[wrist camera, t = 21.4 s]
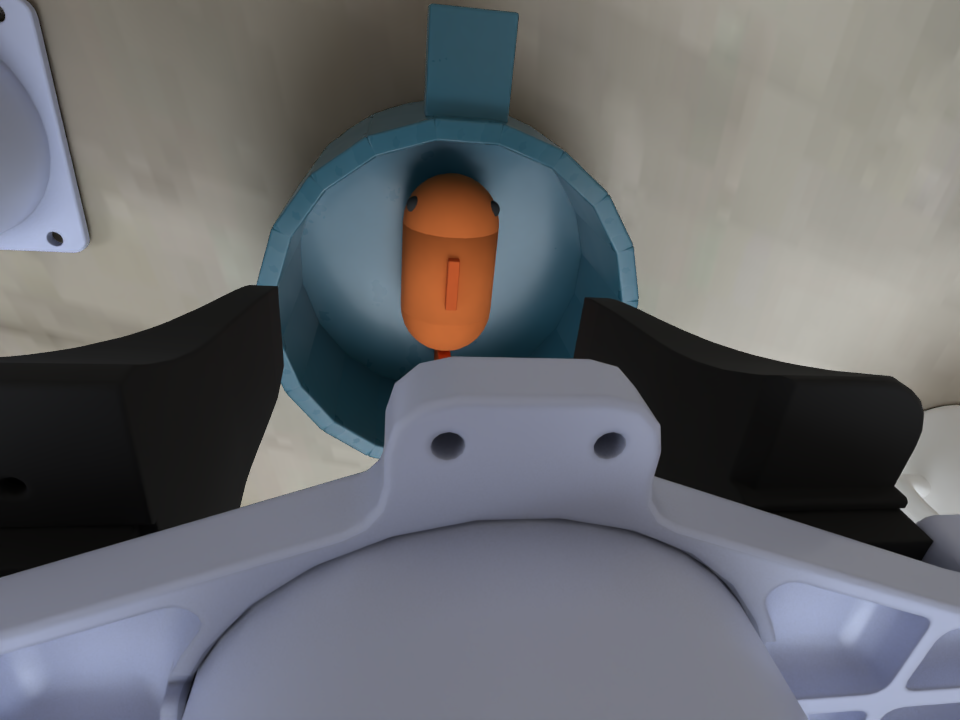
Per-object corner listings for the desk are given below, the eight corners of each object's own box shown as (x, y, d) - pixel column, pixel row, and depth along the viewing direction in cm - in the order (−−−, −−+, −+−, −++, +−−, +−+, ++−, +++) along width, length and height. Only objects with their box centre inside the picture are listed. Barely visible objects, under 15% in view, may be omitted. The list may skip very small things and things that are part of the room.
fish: (477, 357, 26) (489, 403, 22) (398, 355, 25) (399, 403, 22) (496, 167, 22) (513, 191, 19) (403, 161, 21) (404, 184, 18)
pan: (300, 439, 27) (279, 526, 22) (268, -8, 19) (224, -21, 14) (557, 439, 29) (588, 519, 24) (632, 31, 21) (702, 31, 16)
